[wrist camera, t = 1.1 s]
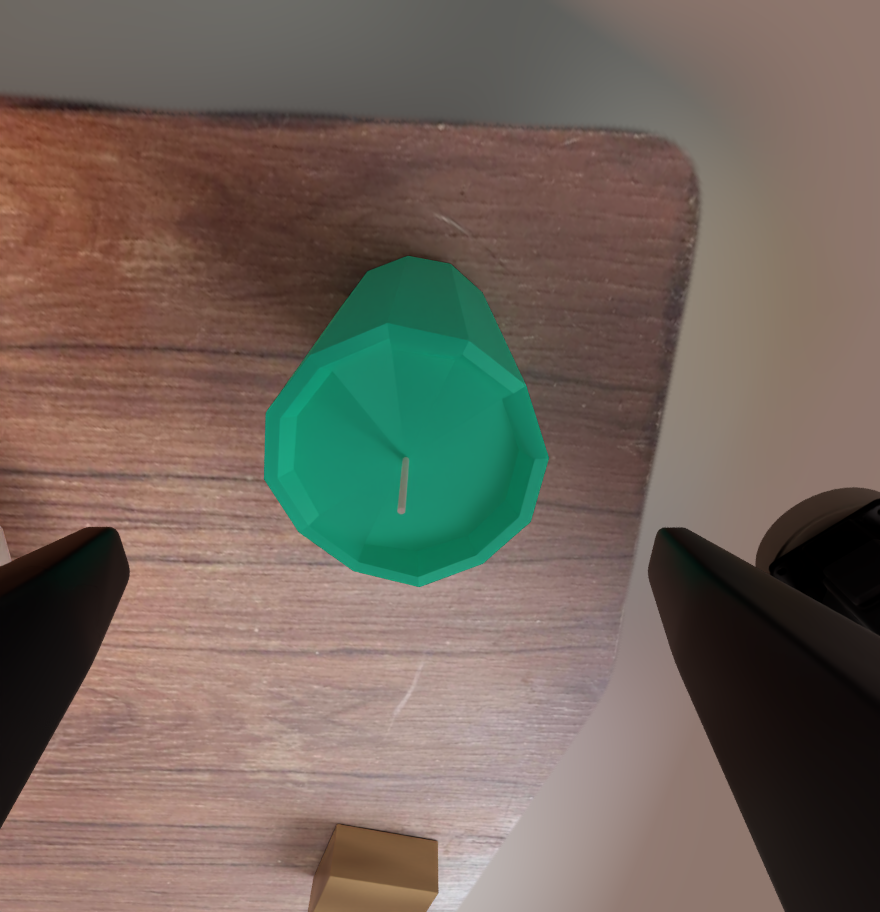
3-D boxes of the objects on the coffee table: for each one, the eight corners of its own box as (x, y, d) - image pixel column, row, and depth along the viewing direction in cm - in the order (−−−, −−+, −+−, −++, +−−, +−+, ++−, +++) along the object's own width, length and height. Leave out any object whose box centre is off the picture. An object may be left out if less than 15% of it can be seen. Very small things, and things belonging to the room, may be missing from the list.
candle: (497, 404, 22) (562, 620, 11) (351, 417, 22) (275, 642, 11) (491, 247, 19) (570, 333, 8) (324, 263, 19) (190, 366, 8)
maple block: (407, 891, 39) (405, 943, 37) (313, 877, 38) (304, 929, 35) (437, 840, 36) (438, 893, 34) (337, 823, 35) (329, 876, 32)
